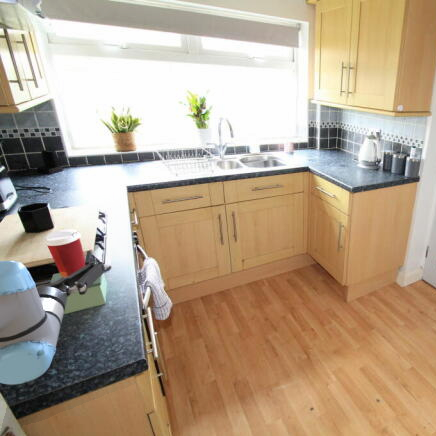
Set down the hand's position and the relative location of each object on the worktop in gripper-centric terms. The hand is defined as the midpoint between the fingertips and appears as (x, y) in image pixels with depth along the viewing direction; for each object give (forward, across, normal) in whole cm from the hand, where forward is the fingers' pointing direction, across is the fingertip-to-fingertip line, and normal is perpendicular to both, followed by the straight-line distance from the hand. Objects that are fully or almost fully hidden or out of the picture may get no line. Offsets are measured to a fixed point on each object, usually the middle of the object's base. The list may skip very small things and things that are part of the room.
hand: (57, 261), depth 79 cm
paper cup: (+9, +1, -11) cm, 14 cm away
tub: (+9, +1, -18) cm, 20 cm away
